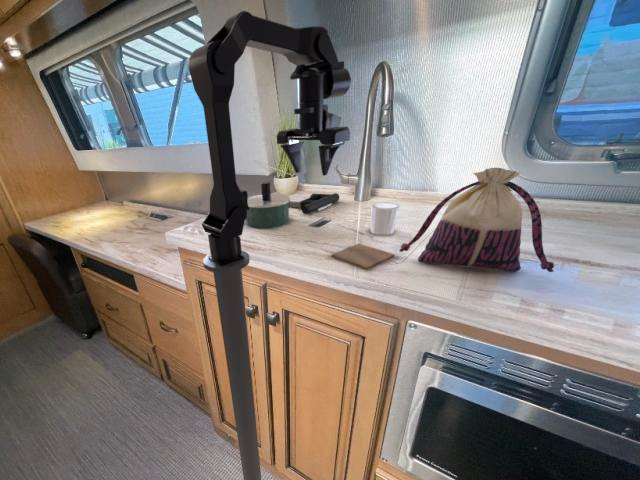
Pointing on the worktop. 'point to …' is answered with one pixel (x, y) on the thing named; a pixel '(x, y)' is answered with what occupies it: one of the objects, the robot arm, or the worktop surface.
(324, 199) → the door handle
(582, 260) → the worktop surface
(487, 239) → the pouch
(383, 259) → the plate
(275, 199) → the tin lid
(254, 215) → the lunch tin
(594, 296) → the worktop surface
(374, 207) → the white cup
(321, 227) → the worktop surface
